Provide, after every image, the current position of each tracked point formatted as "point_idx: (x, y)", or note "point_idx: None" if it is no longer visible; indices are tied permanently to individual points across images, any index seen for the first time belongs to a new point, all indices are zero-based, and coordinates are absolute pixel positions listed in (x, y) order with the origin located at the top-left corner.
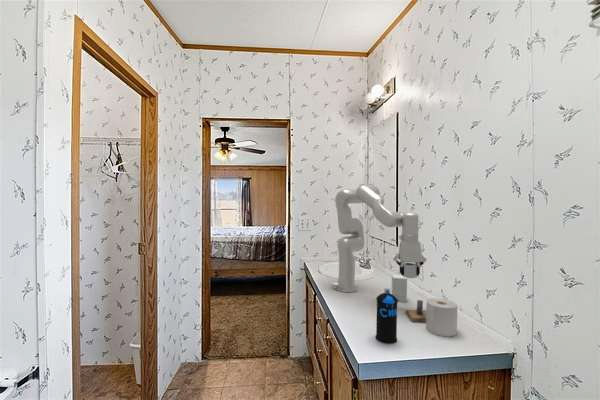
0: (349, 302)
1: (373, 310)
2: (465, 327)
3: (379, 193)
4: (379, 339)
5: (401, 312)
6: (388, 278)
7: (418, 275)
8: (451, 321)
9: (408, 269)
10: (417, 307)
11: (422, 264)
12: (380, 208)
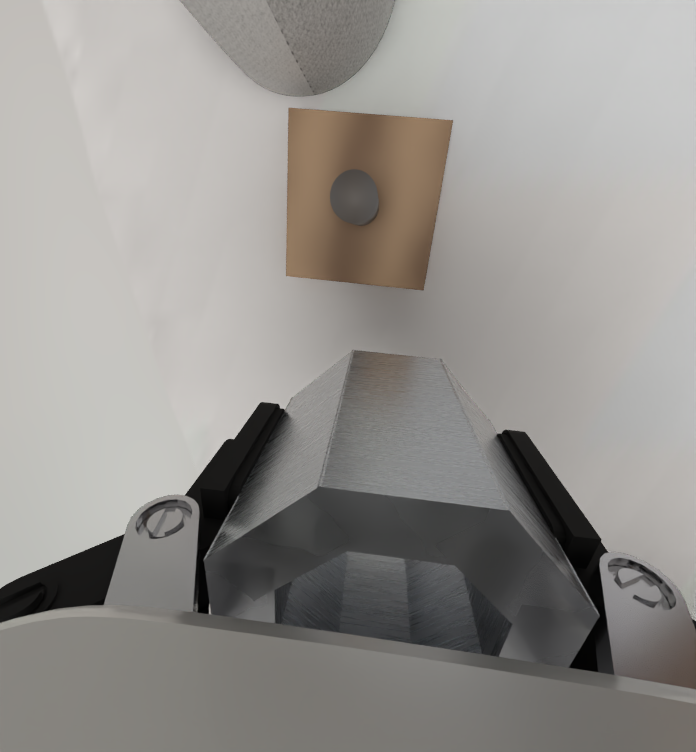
0: (686, 464)
1: (605, 340)
2: (120, 44)
3: None
4: None
5: (437, 306)
6: None
7: (265, 403)
8: None
9: (479, 440)
10: (378, 198)
11: (54, 566)
12: None
